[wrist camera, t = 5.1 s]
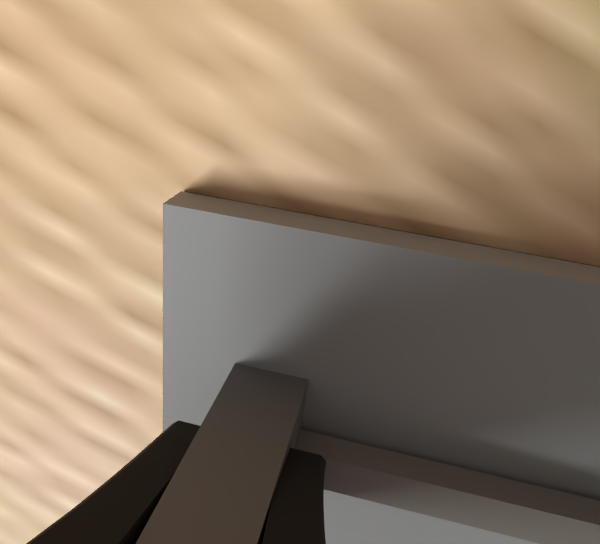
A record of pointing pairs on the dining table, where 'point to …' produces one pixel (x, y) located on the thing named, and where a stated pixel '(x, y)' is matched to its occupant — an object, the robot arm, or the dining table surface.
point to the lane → (389, 348)
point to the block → (335, 477)
